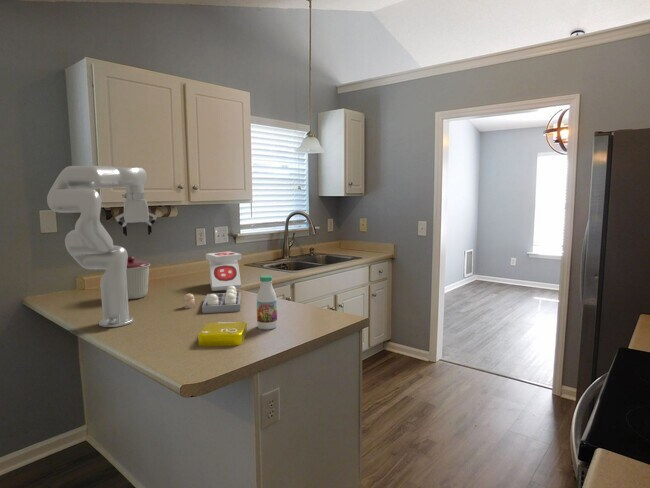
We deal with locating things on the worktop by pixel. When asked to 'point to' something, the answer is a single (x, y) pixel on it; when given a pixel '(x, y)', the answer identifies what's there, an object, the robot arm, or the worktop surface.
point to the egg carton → (222, 301)
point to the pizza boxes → (224, 270)
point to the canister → (137, 278)
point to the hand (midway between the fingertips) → (137, 234)
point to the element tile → (222, 334)
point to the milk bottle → (266, 304)
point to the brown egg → (189, 301)
